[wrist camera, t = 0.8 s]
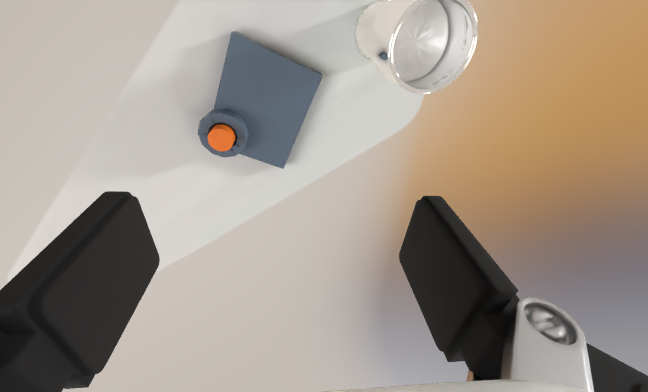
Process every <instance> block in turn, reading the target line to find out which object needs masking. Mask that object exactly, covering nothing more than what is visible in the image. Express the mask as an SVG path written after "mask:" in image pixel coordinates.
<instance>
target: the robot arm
mask: <svg viewBox="0 0 648 392" xmlns="http://www.w3.org/2000/svg"><path fill="white" fill-rule="evenodd" d="M399 259H400V263H401V265H402V267H403V270H404V272H405V274H406V276H407V279H408V281H409V283H410V286H411V288H412V290H413V293H414V295H415V297H416V300H417V302H418V304H419V306H420V309H421V311H422V313H423V315H424V318H425V320H426V323H427V325H428V327H429V329H430V331H431V334H432V336H433V339H434V341H435V343H436V345H437V347H438V349H439V350H440V351H443V352H444V354H445V356H446V359H447V361H448V362H456V361H465V362H466V364H467V366H468V368H469V372H468V377H467V381H465V382H447V383H432V384H418V385H406V386H391V387H378V388H366V389H352V390H338V391H325V392H648V376H647V375H645V374H643V373H641V372H639V371H637V370H635V369H634V368H632V367H630V366H628V365H626V364H624V363H623V362H620V361H619V360H617V359H615V358H613V357H611V356H610V355H608V354H606V353H604V352H602V351H600V350H599V349H597V348H595V347H593V346H591V345H589V344H587V343H586V339H585V336H584V333H583V331H582V330H581V328H580V327H579V325H578V324H577V322H576V321H575V320H573V318H571V316H570V315H568V314H567V313H566V312H564V311H563V310H562V309H560V308H559V307H557V306H556V305H554V304H552V303H550V302H548V301H545V300H543V299H540V298H534V297H526V298H523V299H521V300H520V299H519V298H518V297H517V296H516V293H517V292H518V289H517V288H516V287H515V286H514V285H513V283H512V282H511V281H510V280H509V278H508V277H507V276H506V275H505V274H504V272H503V271H502V270H501V269H500V268H499V266H498V265H497V264H496V263H495V261H494V260H493V259H492V258H491V256H490V255H489V254H488V253H487V252H486V250H485V249H484V248H483V247H482V245H481V244H480V243H479V242H478V241H477V240H476V238H475V237H474V236H473V234H472V233H471V232H470V231H469V230H468V229H467V227H466V226H465V225H464V223H463V222H462V221H461V220H460V219H459V217H458V216H457V215H456V214H455V212H454V211H453V210H452V209H451V208H450V206H449V205H448V204H447V203H446V202H445V200H444V199H443V198H442V197H441V196H423V197H422V199H421V200H418V201H417V203H416V205H415V208H414V211H413V214H412V217H411V221H410V223H409V226H408V229H407V232H406V235H405V238H404V241H403V244H402V247H401V250H400V254H399ZM158 265H159V254H158V252H157V249H156V246H155V244H154V241H153V238H152V236H151V233H150V230H149V228H148V225H147V222H146V219H145V217H144V214H143V211H142V209H141V206H140V203H139V201H138V199H137V198H136V197H134V196H132V195H131V194H130V193H129V192H105V193H103V194H102V195H101V196H100V197H99V198H98V199H97V200H96V201H94V202H93V203H92V204H91V205H90V206H89V207H88V208H87V209H86V210H85V211H84V212H83V213H82V214H81V215H80V216H79V217H78V218H76V219H75V220H74V221H73V222H72V223H71V224H70V225H69V226H68V227H67V228H66V229H65V230H64V231H63V232H62V233H61V234H59V235H58V236H57V237H56V238H55V239H54V240H53V241H52V242H51V243H50V244H49V245H48V246H47V247H46V248H45V249H44V250H43V251H41V252H40V253H39V254H38V255H37V256H36V257H35V258H34V259H33V260H32V261H31V262H30V263H29V264H28V265H27V266H26V267H24V268H23V269H22V270H21V271H20V272H19V273H18V274H17V275H16V276H15V277H14V278H13V279H12V280H11V281H10V282H9V283H8V284H6V285H5V286H4V287H3V288H2V289H1V290H0V392H61V391H62V390H63V388H65V389H70V388H84V387H89V385H90V383H91V381H92V379H93V378H94V375H95V374H98V373H99V372H101V371H102V370H103V368H104V366H105V365H106V363H107V361H108V359H109V358H110V356H111V354H112V352H113V350H114V348H115V346H116V345H117V343H118V341H119V339H120V337H121V335H122V333H123V331H124V329H125V328H126V326H127V324H128V322H129V320H130V318H131V316H132V315H133V313H134V311H135V309H136V307H137V305H138V303H139V301H140V300H141V298H142V296H143V294H144V292H145V290H146V288H147V287H148V285H149V283H150V281H151V279H152V277H153V275H154V273H155V272H156V270H157V268H158Z"/></svg>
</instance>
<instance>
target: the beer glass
mask: <svg viewBox="0 0 648 392" xmlns="http://www.w3.org/2000/svg"><path fill="white" fill-rule="evenodd" d="M477 37H478V23H477V18H476V14H475V11H474V10H473V7H472V6H471V4H470V3H469V2H468V1H467V0H391V1H389V0H380V1H376V2H374V3H372V4H370V5H369V6H368V7H367V8H366V9H365V10H364V11H363V12H362V14H361V15H360V17H359V19H358V22H357V25H356V31H355V38H356V43H357V46H358V48H359V50H360V52H361V53H362V54H363V55H364V56H365V57H367V58H368V59H371V60H372V61H373V63H374V65H375V67H376V68H377V69H378V71H379V72H380V73H381V74H382V75H383V76H384V77H385V78H387V79H388V80H390V81H391V82H393V83H394V84H396V85H398V86H401V87H403V88H404V89H406V90H408V91H410V92H413V93H419V94H425V93H432V92H435V91H438V90H440V89H442V88H444V87H446V86H448V85H449V84H450V83H451V82H453V81H454V80H455V79H456V78H457V77H458V76H459V75H460V74H461V73H462V72H463V71H464V69H465V68H466V66H467V65H468V63H469V61H470V59H471V57H472V55H473V53H474V50H475V47H476V43H477Z"/></svg>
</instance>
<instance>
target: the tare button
mask: <svg viewBox="0 0 648 392" xmlns="http://www.w3.org/2000/svg"><path fill="white" fill-rule="evenodd" d="M234 141H235V133H234V131H233V130H232V128H230V127H229V126H227V125H225V124H218V125H215V126H214V127H213V128H212V130H211V131H210V133H209V134H208V142H209V144H210V146H211V147H212V148H214V149H215V150H217V151H227V150H229V149H230V148H231V147H232V145H233V143H234Z"/></svg>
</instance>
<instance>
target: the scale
mask: <svg viewBox="0 0 648 392" xmlns="http://www.w3.org/2000/svg"><path fill="white" fill-rule="evenodd" d="M321 78H322V74H321V73H319V72H317V71H315V70H313V69H311V68H309V67H307V66H305V65H302V64H300V63H298V62H296V61H294V60H292V59H290V58H288V57H286V56H284V55H282V54H280V53H278V52H276V51H273V50H271V49H269V48H267V47H265V46H263V45H261V44H259V43H257V42H255V41H253V40H251V39H249V38H247V37H244V36H242V35H240V34H238V33H236V32H232V33H231V37H230V42H229V46H228V50H227V55H226V59H225V63H224V68H223V72H222V76H221V81H220V85H219V89H218V94H217V98H216V102H215V106H214V110H212V111H211V112H209V113H208V114H207V115H206V116H205V117H204V118H203V119H202V120H201V121H200V124H199V129H198V135H199V137H200V140H201V143H202V144H203V146H204V147H206V148H207V149H208V150H209V151H210V152H211V153H212V154H215V155H218V156H221V157H230V156H236V155H237V154H242V155H245V156H248V157H251V158H254V159H257V160H259V161H262V162H265V163H268V164H271V165H274V166H277V167H280V168H284V166H285V163H286V161H287V159H288V156H289V154H290V152H291V149H292V147H293V144H294V142H295V140H296V137H297V135H298V133H299V130H300V128H301V125H302V123H303V121H304V118H305V116H306V114H307V111H308V109H309V106H310V104H311V102H312V99H313V97H314V95H315V92H316V90H317V87H318V85H319V83H320V80H321ZM218 124H225V125H227V126H229V127H230V128H232V130H233V131H234V133H235V141H234V143H233V145H232V147H231V148H230V149H229V150H227V151H217V150H215V149H214V148H212V147H211V146H210V144H209V142H208V134H209V133H210V131H211V130H212V128H213V127H214V126H215V125H218Z"/></svg>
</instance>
